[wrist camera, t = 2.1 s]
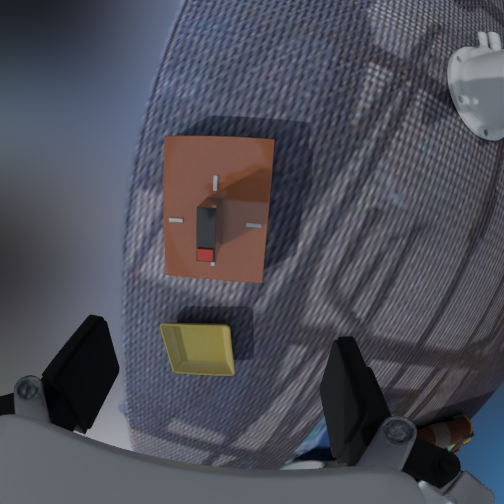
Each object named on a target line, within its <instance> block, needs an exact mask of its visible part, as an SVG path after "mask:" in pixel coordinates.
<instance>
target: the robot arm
mask: <svg viewBox="0 0 504 504" xmlns="http://www.w3.org/2000/svg"><path fill="white" fill-rule="evenodd" d="M478 38H479V42H480V46H479V47H478V48H474V47H463V48H460V49H458V50H456V51H455V52H454V53H453V54H452V55H451V57H450V60H449V62H448V69H447V78H448V85H449V90H450V94H451V97H452V100H453V103H454V105H455V108H456V110H457V111H458V113H459V115H460V117H461V118H462V120H463V121H464V123H465V124H466V125H467V127H468V128H469V129H470V130H471V131H472V132H473V133H474V134H476V135H477V136H479V137H481V138H482V139H486V140H494V141H495V140H500V139H501V138H503V137H504V50H501V48H502V46H501V41H500V36H499V35H498V34H497V33H495V32H488V38H487V34H486V33H484V32H481V31H480V32H478ZM488 40H489V45H490V48H491V49H490V48H489V47H488ZM118 374H119V364H118V361H117V358H116V354H115V351H114V347H113V343H112V340H111V336H110V332H109V328H108V324H107V322H106V321H105V320H104V318H103V317H101V316H96V315H89V316H88V317H87V318H86V320H85V321H84V322H83V323H82V324H81V325H80V327H79V328H78V329H77V330H76V331H75V333H74V334H73V335H72V336H71V337H70V339H69V340H68V341H67V342H66V344H65V345H64V346H63V347H62V349H61V350H60V351H59V353H58V354H57V355H56V356H55V358H54V359H53V360H52V361H51V363H50V364H49V365H48V367H47V368H46V369H45V371H44V372H43V373H42V376H43V377H42V379H41V380H40V379H39V378H38V377H36V376H32V375H30V376H25V377H23V378H21V379H19V381H18V382H17V383H16V384H15V386H14V393H11V394H8V395H4V396H0V504H494V501H495V497H494V493H493V492H492V491H491V490H490V489H489V488H488V487H486V486H485V485H484V484H483V483H481V482H480V481H479V480H478V479H476V478H475V477H474V476H473V475H472V474H470V473H469V472H468V471H467V470H464V471H462V470H461V469H460V468H461V466H460V461H459V459H458V457H457V456H456V455H455V454H454V453H452V452H450V451H448V450H445V449H443V448H441V447H439V446H436V445H434V444H432V443H430V442H428V441H425V440H423V439H421V438H419V437H417V429H416V426H415V424H414V423H413V422H412V421H411V420H410V419H408V418H406V417H404V416H397V415H394V416H391V414H390V411H389V409H388V406H387V404H386V401H385V399H384V396H383V394H382V392H381V389H380V387H379V384H378V382H377V380H376V377H375V375H374V373H373V370H372V369H371V368H370V367H366V364H365V362H364V360H363V357H362V355H361V353H360V350H359V348H358V346H357V343H356V341H355V339H354V337H352V336H350V337H339V338H338V340H334V342H333V345H332V348H331V352H330V355H329V359H328V362H327V365H326V369H325V372H324V375H323V378H322V381H321V384H320V396H321V400H322V405H323V410H324V415H325V420H326V425H327V430H328V436H329V441H330V446H331V452H332V456H333V457H337V462H338V464H340V463H347V467H334V468H319V469H301V470H300V469H299V470H254V469H236V468H224V467H214V466H205V465H198V464H191V463H184V462H179V461H173V460H168V459H163V458H158V457H153V456H149V455H145V454H141V453H137V452H133V451H129V450H125V449H122V448H118V447H115V446H111V445H108V444H105V443H102V442H99V441H96V440H93V439H91V438H88V437H85V436H82V435H79V434H77V433H74V432H73V431H74V430H75V431H78V432H80V433H83V434H85V433H86V431H87V429H90V428H91V427H92V425H93V423H94V421H95V419H96V417H97V415H98V413H99V411H100V409H101V407H102V405H103V403H104V401H105V399H106V397H107V395H108V393H109V391H110V389H111V387H112V385H113V383H114V381H115V379H116V377H117V376H118Z"/></svg>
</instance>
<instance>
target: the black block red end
mask: <svg viewBox="0 0 504 504" xmlns="http://www.w3.org/2000/svg"><path fill="white" fill-rule="evenodd" d="M222 220H223V199H220V198H206V199H205V200H204V201H203V202H202V203H200V204H199V205H198V206H197V215H196V261H203V262H215V261H216V258H217V256H218V253H219V251H220V248H221V246H222Z"/></svg>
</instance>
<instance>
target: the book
mask: <svg viewBox="0 0 504 504" xmlns="http://www.w3.org/2000/svg"><path fill="white" fill-rule="evenodd" d="M472 429H473V427H472V423H471V421H470V420H469V418H468V417H467V416H464V414H460V415H457V416H454V417H452V419H451V420H450V421H447V422H439V423H436V424H432V425H429V426H426V427H424V428H423V429H419V430H417V437H419V438H421V439H423V440H425V441H428V442H430V443H432V444H434V445H436V446H439V447H441V448H443V449H445V450H448V451H450V452H452V453H456V452H459V451H460V450H459V447H460V446H461V445H465V444H466V443H467V442H468V441H469V440H470V439H471V438H472V437H473V436H474V434H473V431H472Z"/></svg>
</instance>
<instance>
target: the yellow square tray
mask: <svg viewBox="0 0 504 504" xmlns="http://www.w3.org/2000/svg"><path fill="white" fill-rule="evenodd" d="M160 327H161V331H162V335H163V339H164V342H165V346H166V349H167V353H168V356H169V360H170V363H171V367H172V370H173V371H174V372H176V373H184V374H200V375H219V376H232V375H234V374H235V368H234V360H233V352H232V342H231V333H230V327H229V326H228V325H226V324H207V323H171V322H170V323H162V324H161V326H160Z"/></svg>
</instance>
